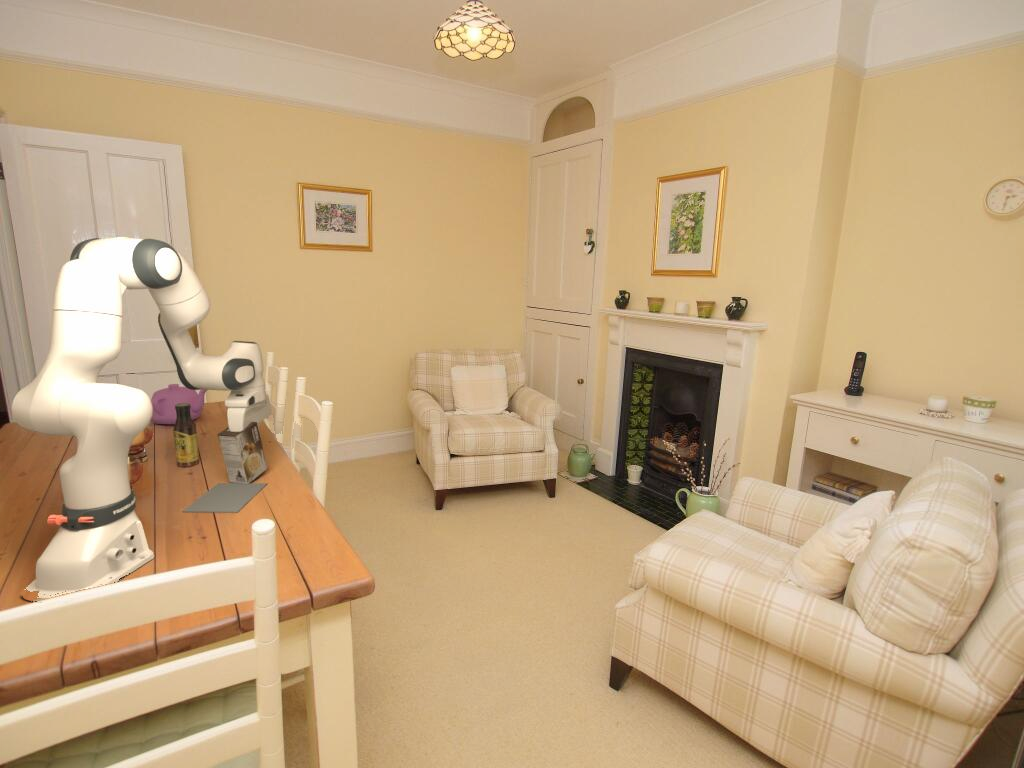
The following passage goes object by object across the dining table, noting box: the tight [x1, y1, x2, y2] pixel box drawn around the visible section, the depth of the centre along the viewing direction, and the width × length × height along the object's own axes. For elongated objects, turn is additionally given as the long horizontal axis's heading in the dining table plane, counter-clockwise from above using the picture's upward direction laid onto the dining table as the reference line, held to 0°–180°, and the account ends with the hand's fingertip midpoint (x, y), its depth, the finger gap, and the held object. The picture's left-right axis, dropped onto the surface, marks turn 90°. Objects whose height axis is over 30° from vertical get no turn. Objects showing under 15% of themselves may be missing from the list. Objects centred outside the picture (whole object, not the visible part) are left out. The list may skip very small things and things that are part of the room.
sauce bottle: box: [172, 403, 200, 468], centre depth 164 cm, size 6×6×20 cm
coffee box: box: [217, 422, 268, 484], centre depth 153 cm, size 9×6×16 cm
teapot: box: [150, 383, 208, 425], centre depth 208 cm, size 23×21×15 cm
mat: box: [182, 482, 268, 514], centre depth 144 cm, size 18×14×1 cm
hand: (253, 438), depth 159 cm, fingers closed
